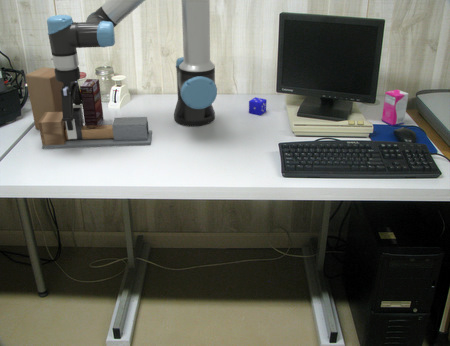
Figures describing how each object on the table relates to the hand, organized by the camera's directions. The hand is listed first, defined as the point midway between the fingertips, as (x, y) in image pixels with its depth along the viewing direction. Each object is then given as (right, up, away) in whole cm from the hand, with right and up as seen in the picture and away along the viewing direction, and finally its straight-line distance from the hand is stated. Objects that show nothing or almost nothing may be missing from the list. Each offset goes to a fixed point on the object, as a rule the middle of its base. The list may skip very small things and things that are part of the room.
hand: (76, 130), depth 167 cm
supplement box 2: (+111, +4, +16) cm, 112 cm away
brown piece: (+3, -2, +1) cm, 4 cm away
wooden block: (-12, +3, +14) cm, 18 cm away
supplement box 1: (+2, +3, +14) cm, 15 cm away
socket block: (-7, -4, +1) cm, 8 cm away
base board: (+7, -3, +2) cm, 8 cm away
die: (+62, +9, +25) cm, 67 cm away
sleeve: (+18, -3, +3) cm, 18 cm away
